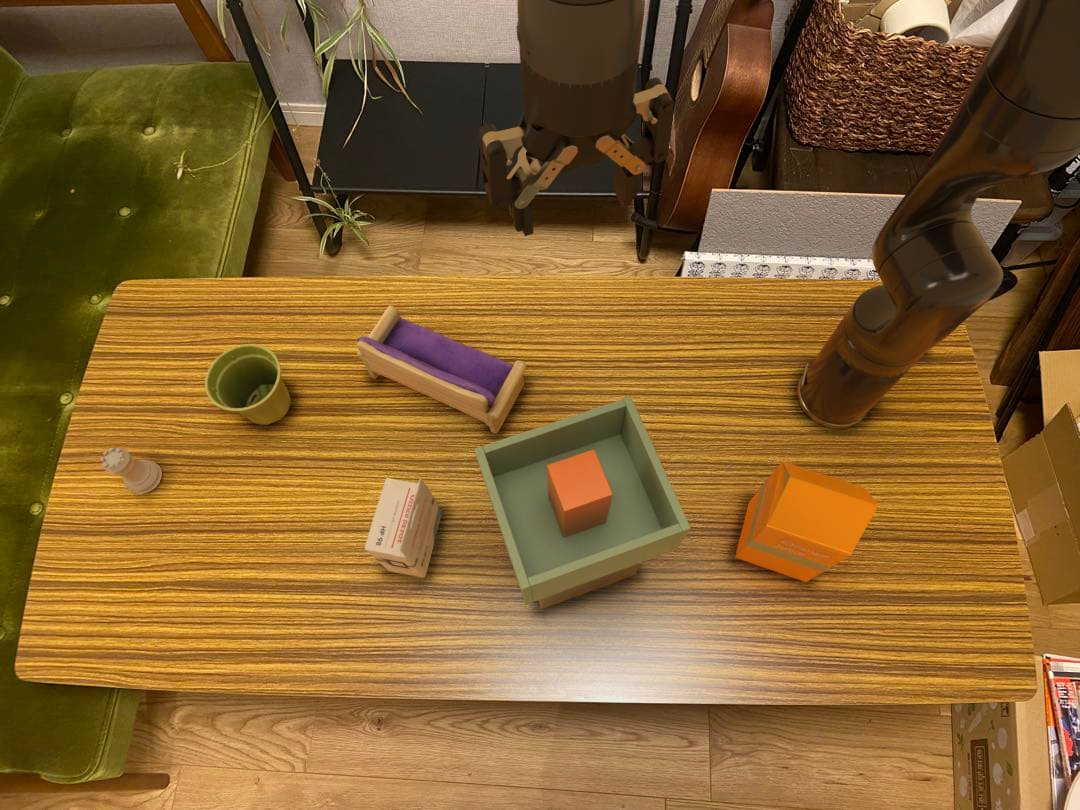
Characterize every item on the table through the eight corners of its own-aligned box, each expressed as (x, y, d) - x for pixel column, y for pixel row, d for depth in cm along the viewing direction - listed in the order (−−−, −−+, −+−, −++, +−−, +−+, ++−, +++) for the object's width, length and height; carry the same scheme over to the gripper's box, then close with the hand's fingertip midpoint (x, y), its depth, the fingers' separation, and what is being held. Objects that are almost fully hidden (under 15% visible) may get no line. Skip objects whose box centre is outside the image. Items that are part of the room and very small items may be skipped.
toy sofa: (530, 385, 96) (527, 348, 87) (500, 438, 93) (494, 406, 84) (398, 328, 101) (382, 287, 91) (366, 377, 97) (346, 340, 88)
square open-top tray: (624, 428, 74) (630, 395, 67) (677, 549, 68) (691, 528, 61) (482, 476, 72) (473, 448, 65) (525, 604, 66) (521, 589, 59)
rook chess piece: (122, 479, 92) (85, 458, 85) (151, 456, 93) (116, 432, 86) (141, 502, 91) (105, 482, 83) (170, 477, 92) (137, 456, 85)
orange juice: (806, 583, 84) (874, 543, 66) (733, 558, 86) (780, 511, 68) (819, 523, 87) (887, 468, 69) (748, 500, 89) (797, 440, 71)
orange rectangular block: (590, 481, 71) (594, 448, 62) (606, 522, 69) (613, 494, 61) (547, 496, 70) (546, 465, 62) (563, 537, 68) (564, 511, 60)
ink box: (406, 505, 89) (379, 465, 76) (443, 512, 89) (423, 473, 76) (386, 571, 86) (355, 542, 73) (425, 579, 85) (400, 551, 72)
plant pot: (283, 445, 93) (258, 419, 85) (221, 425, 95) (190, 398, 87) (314, 385, 97) (293, 355, 89) (254, 367, 98) (228, 335, 91)
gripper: (488, 109, 41) (506, 273, 56) (711, 47, 43) (672, 222, 57) (451, 27, 44) (478, 203, 59) (661, -28, 46) (636, 157, 60)
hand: (574, 212), depth 58 cm, fingers open, 8 cm apart
